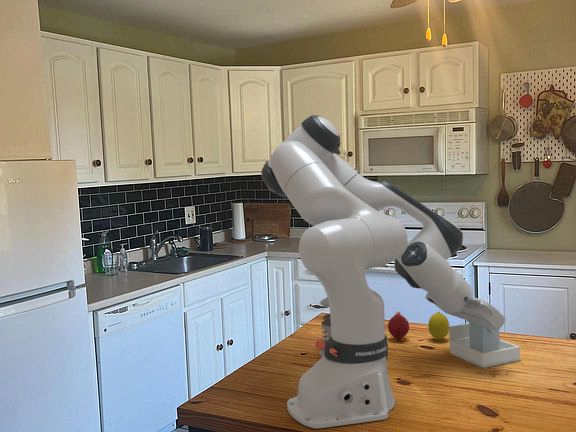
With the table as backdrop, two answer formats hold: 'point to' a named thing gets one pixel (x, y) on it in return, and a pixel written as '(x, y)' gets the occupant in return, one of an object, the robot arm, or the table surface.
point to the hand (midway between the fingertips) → (485, 328)
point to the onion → (398, 326)
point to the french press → (326, 324)
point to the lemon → (438, 326)
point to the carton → (482, 338)
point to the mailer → (462, 349)
